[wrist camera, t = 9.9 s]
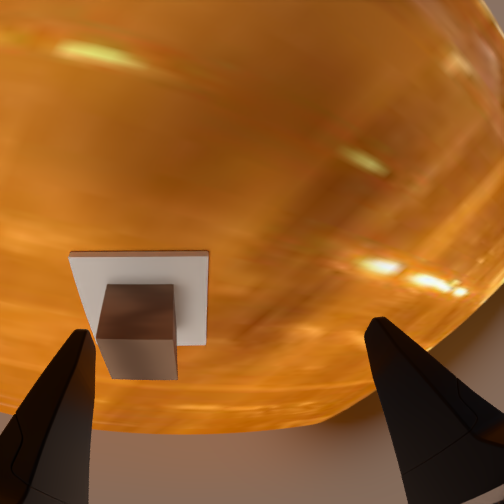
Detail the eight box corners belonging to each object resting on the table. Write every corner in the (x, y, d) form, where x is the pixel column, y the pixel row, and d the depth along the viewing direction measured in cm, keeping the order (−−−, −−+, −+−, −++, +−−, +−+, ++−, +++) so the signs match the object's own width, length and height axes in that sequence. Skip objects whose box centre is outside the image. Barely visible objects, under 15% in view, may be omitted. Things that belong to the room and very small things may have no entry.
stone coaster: (208, 250, 22) (208, 256, 22) (205, 339, 28) (205, 344, 28) (70, 251, 20) (68, 257, 20) (98, 339, 26) (97, 344, 26)
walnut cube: (173, 284, 23) (172, 339, 19) (176, 327, 26) (177, 379, 22) (107, 284, 22) (95, 338, 18) (118, 327, 25) (112, 378, 21)
